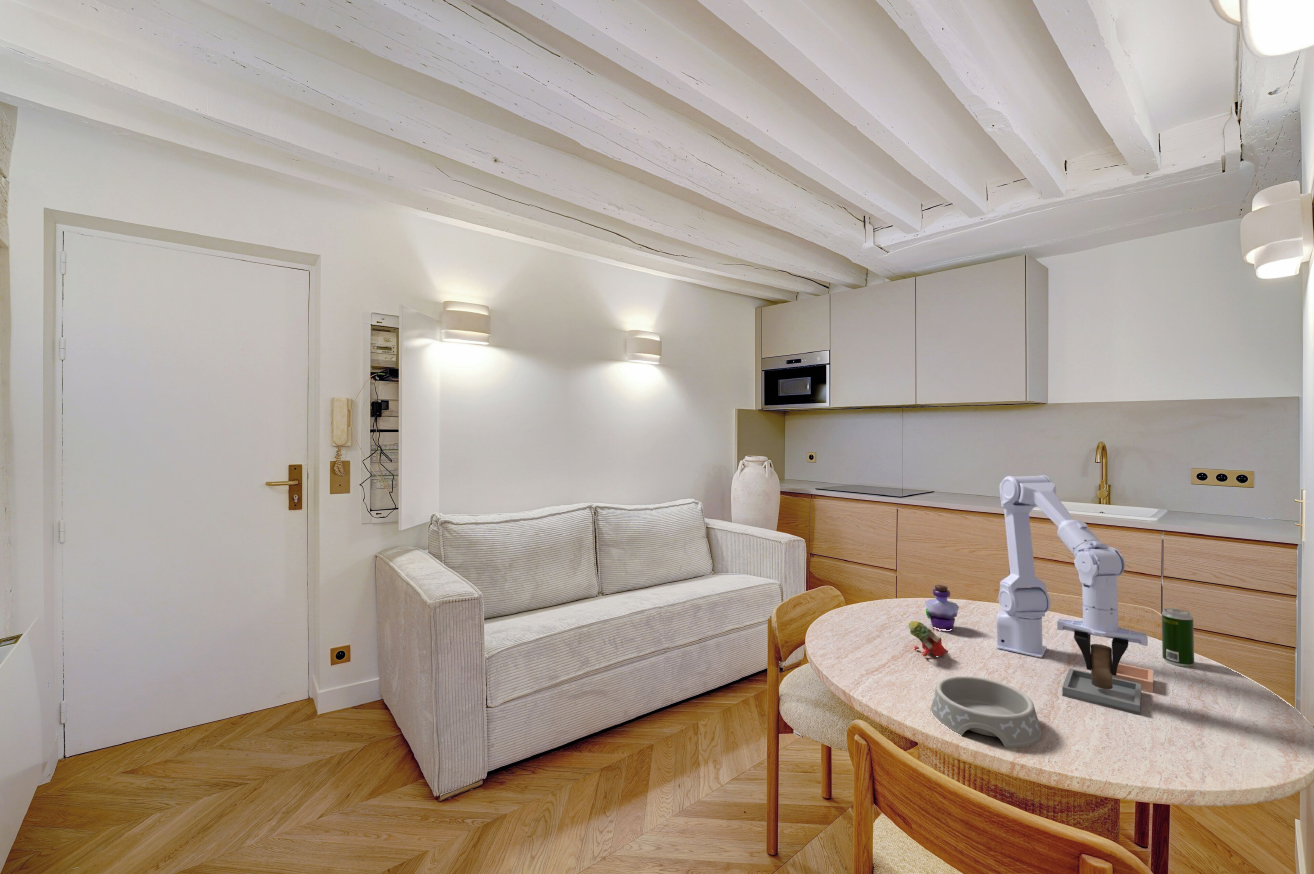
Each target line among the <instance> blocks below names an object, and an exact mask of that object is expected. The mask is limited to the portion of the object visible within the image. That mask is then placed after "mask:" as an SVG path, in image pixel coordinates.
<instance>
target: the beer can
mask: <svg viewBox="0 0 1314 874" xmlns="http://www.w3.org/2000/svg"><path fill="white" fill-rule="evenodd" d="M1194 624H1195V623H1194V617H1193V614H1192V612H1190V611H1187V610H1183V609H1179V608H1170V607H1169V608H1168V607H1167V608H1163V609H1162V613H1161V648H1162V649H1161V650H1162V655H1161V656H1162V659H1163V660H1164V662H1166V663H1167V664H1170V665H1172V666H1176V667H1180V668H1192V667H1193V666H1194V664H1195V637H1194V636H1195V634H1194V633H1195V632H1194V630H1195V625H1194Z"/></svg>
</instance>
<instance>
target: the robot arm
mask: <svg viewBox="0 0 1314 874" xmlns="http://www.w3.org/2000/svg"><path fill="white" fill-rule="evenodd" d="M998 487H999V498H1000V505H1001V506H1000V507H1001V508H1003V513H1004V514H1003V515H1004V522H1005V525H1004V526H1005V534H1006V543H1007V546H1006V547H1007V555H1008V564H1009V575H1008V576H1006V577H1005V578H1003V579H1002V580H1001V581H999V592H998V603H999V605H1000V607H1001V609H1002V610H1001V609H1000V610H999V609H998V613H997V615H996V642H997V643H996V648H997V649H998V650H999V649H1000V650H1004V651H1008V652H1013V653H1018V654H1022V655H1027V656H1032V657H1037V658H1040V659H1041V658H1043V656H1044V655H1045V653H1046V651H1047V646H1046V645H1043V617H1046V613H1048V612H1049V611H1050V610H1051V605H1052V604H1051V603H1052V602H1051V601H1052V600H1051V598H1050V595H1049V593H1048V591H1047V585H1046V583H1045V582H1044V581H1043V580H1041V579H1040V578H1038V576H1036V570H1035V561H1034V551H1033V550H1034V549H1033V541H1032V533H1031V531H1032V530H1031V523H1030V522H1031V521H1030V513H1031V512H1032V510H1033V509H1035V508H1037V507H1038V509H1039V510H1041V511H1042V512H1043V513H1044V515H1046V516H1047V518H1049V519H1050V521H1051V522H1053V524H1054V525H1055V526H1057V527H1058V529H1057V532H1056V534H1057V537H1058V538H1059V539H1060V540H1061V541H1062V543H1063V544H1064V546H1066V548H1067V549H1068V550H1069V551H1070V552H1071V553H1072V555H1073V556H1074V559H1073V563H1074V566H1075V569H1076V570H1077V573H1078V579H1079V582H1080V583H1081V589H1082V590H1081V592H1082V596H1081V597H1082V620H1074V619H1073V620H1072V619H1064V618H1058V619H1057V620H1056V630H1058V631H1069V632H1073V639H1074V641H1075V642H1076V644H1077V646H1078V648H1079V650H1080V652H1081V654H1082V656H1083V659H1084V662H1085V666H1086V670H1087V671H1091V636H1096V637H1100V638H1101V637H1102V638H1108V639H1112V640H1111V648H1112V675H1115V676H1116V674H1117V667H1118V664H1119V663H1121V662H1120V661H1121V660H1122V657H1123V656H1124V654H1125V652H1126V651H1127V649H1128V647H1129V643H1133V644H1139V645H1141V646H1146V647H1148V645H1149V641H1148V633H1145V632H1140V631H1135V630H1131V629H1128V628H1122V627H1119V600H1118V599H1119V598H1118V597H1119V595H1118V592H1119V591H1118V588H1119V587H1118V576H1122V574H1123V573H1124V572H1125V569H1126V562H1125V559H1124V556H1122V554H1121V552H1120V551H1119V550H1118V549H1117V548H1115V547H1111V546H1109V545H1107V544H1106V543H1105V544H1104V543H1103V542H1102V541H1101V540H1100V539H1099V538H1098V536H1096V534H1095V533H1094V532H1093V531H1092V530H1091V529H1090V527H1089V526H1088V524H1087V523H1086V522H1084V521H1082V520H1077V519H1074V518H1073V516H1072V515H1071V513H1070V512H1069V510H1068V509H1067V508H1066V506H1064V504H1063V503H1062V501H1061V500H1060V498H1059V497H1058V496H1057V485H1056V484H1055V483H1054V482H1053V481H1052V479H1051V478H1050V477H1049V476H1048V475H1043V474H1042V475H1041V474H1040V475H1024V476H1023V475H1020V476H1013V475H1008V476H1005V477H1004V478H1003V479H1002V481H1001V482H1000V484H999V486H998Z"/></svg>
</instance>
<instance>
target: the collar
mask: <svg viewBox="0 0 1314 874" xmlns="http://www.w3.org/2000/svg"><path fill="white" fill-rule="evenodd" d="M1112 677H1113V678H1117V679H1122V680H1126V681H1131V682H1136V683H1140V684H1141V691H1143V692H1148V693H1152V694H1154V669H1149V668H1145V667H1139V666H1134V665H1130V664H1125V663H1121V662H1119V664H1118V667H1117V674H1116V676H1115V675H1112Z"/></svg>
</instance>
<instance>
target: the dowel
mask: <svg viewBox="0 0 1314 874" xmlns="http://www.w3.org/2000/svg"><path fill="white" fill-rule="evenodd" d="M1090 651H1091V670H1090V673H1091V680H1092V685H1094V686H1096V687H1099V688H1103V689H1112V688H1113V681H1112V647H1110V646H1108V645H1106V644H1105V645H1104V644H1098V643H1090Z"/></svg>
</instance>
